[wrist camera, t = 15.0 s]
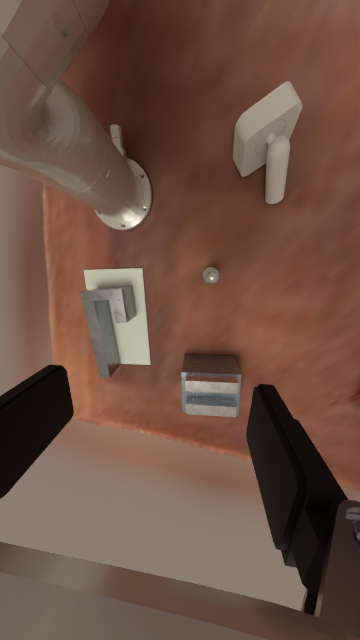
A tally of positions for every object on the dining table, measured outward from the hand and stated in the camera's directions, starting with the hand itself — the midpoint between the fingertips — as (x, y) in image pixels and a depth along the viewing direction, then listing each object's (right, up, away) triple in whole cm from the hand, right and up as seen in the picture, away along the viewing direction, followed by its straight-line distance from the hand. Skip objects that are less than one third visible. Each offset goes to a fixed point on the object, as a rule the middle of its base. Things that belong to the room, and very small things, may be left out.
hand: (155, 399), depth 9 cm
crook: (-13, +2, +36) cm, 38 cm away
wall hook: (+16, +31, +24) cm, 42 cm away
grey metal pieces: (+8, 0, +34) cm, 35 cm away
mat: (-14, +4, +35) cm, 38 cm away
